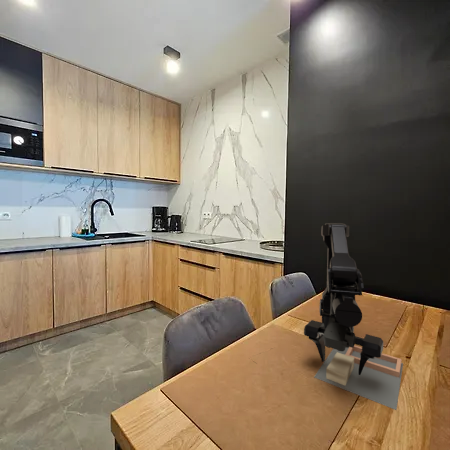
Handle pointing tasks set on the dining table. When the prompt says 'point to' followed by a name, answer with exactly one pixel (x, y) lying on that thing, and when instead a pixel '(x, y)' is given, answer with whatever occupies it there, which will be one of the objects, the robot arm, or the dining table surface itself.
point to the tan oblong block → (340, 368)
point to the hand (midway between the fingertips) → (340, 367)
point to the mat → (367, 380)
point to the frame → (374, 365)
